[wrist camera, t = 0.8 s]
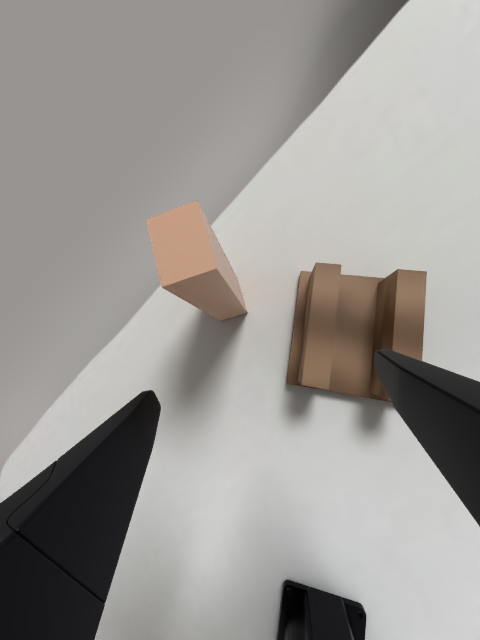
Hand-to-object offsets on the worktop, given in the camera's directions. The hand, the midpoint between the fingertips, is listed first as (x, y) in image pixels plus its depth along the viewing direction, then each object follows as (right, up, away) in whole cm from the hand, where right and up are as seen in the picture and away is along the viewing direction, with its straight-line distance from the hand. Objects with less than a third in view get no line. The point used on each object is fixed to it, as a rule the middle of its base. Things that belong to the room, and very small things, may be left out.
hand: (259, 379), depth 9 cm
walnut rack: (+9, +1, +12) cm, 16 cm away
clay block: (-2, +5, +15) cm, 16 cm away
